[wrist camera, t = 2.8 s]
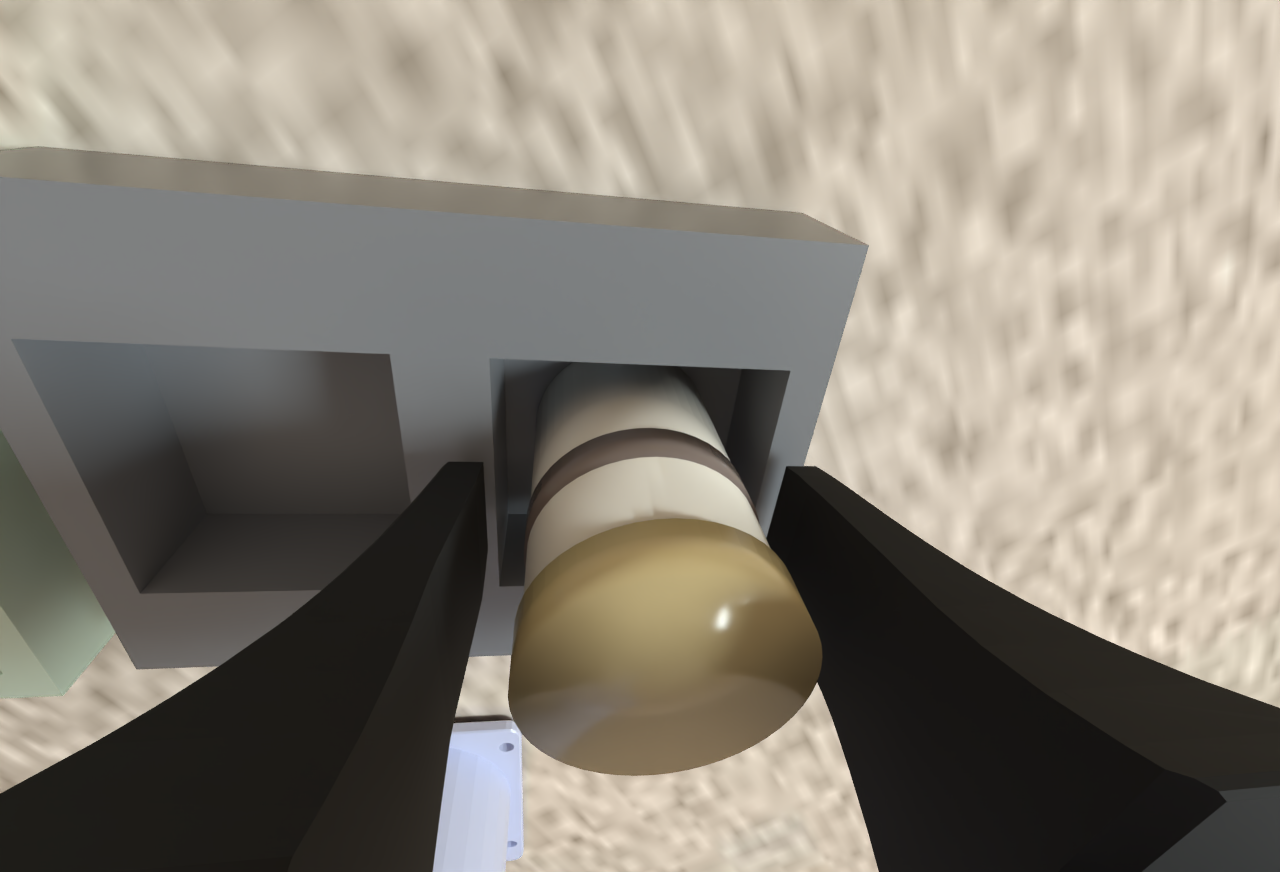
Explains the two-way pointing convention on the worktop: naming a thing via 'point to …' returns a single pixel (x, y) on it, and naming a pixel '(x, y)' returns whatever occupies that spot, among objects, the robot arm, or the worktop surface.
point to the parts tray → (40, 596)
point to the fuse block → (358, 364)
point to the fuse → (648, 585)
